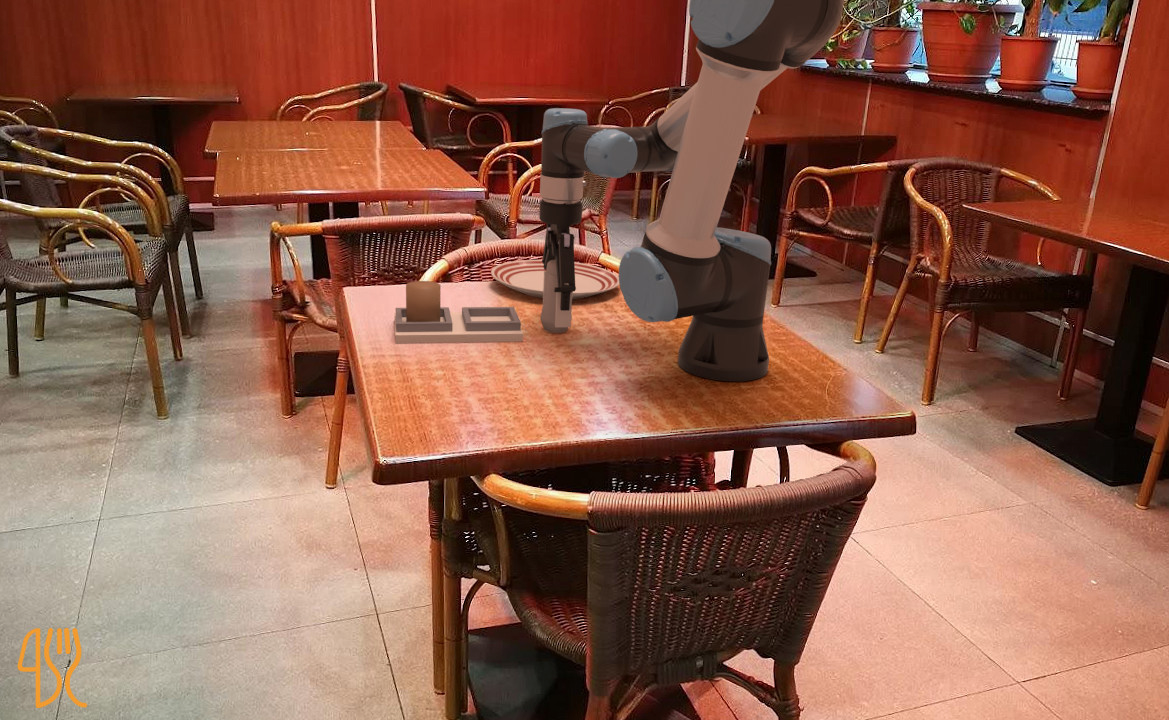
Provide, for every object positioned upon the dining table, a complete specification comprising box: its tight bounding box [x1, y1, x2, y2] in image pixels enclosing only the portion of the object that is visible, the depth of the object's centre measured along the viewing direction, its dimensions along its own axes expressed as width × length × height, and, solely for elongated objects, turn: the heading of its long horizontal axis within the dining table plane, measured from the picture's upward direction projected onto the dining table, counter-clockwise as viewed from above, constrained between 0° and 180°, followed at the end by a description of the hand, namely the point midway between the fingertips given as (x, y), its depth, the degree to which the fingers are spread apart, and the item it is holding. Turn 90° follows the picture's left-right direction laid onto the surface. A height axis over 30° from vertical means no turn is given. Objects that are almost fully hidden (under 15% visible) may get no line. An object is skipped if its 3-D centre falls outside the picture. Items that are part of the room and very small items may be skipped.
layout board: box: [393, 280, 524, 345], centre depth 169 cm, size 13×22×8 cm, turn 101°
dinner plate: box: [490, 259, 620, 300], centre depth 201 cm, size 28×27×3 cm
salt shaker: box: [540, 260, 573, 334], centre depth 172 cm, size 6×6×13 cm
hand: (556, 315), depth 173 cm, fingers open, 13 cm apart
